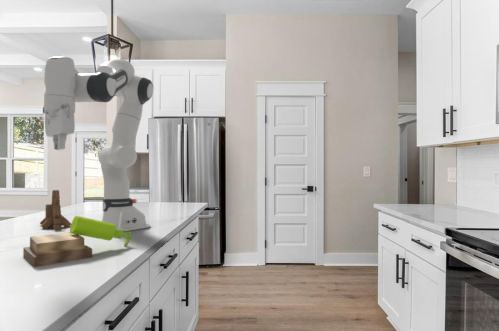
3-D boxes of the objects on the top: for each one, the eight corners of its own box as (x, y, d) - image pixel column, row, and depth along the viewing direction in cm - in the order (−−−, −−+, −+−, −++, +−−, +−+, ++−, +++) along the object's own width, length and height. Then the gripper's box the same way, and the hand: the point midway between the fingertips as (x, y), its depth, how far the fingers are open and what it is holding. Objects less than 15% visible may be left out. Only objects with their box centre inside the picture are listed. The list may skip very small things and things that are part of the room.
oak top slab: (73, 241, 119) (74, 231, 119) (84, 249, 109) (84, 238, 109) (29, 247, 110) (29, 236, 110) (36, 255, 101) (36, 243, 101)
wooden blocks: (73, 230, 157) (73, 191, 157) (41, 232, 150) (42, 192, 151) (66, 222, 178) (67, 188, 178) (38, 224, 171) (39, 188, 171)
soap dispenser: (71, 237, 110) (129, 248, 123) (79, 216, 112) (135, 229, 124) (67, 234, 115) (123, 245, 127) (74, 214, 116) (129, 227, 129)
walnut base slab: (76, 250, 121) (76, 240, 121) (92, 259, 110) (92, 248, 110) (23, 258, 110) (23, 247, 110) (34, 269, 99) (34, 257, 99)
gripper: (80, 103, 105) (80, 148, 105) (62, 111, 120) (61, 150, 120) (57, 100, 100) (57, 147, 100) (41, 109, 116) (40, 150, 115)
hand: (59, 149), depth 110 cm, fingers open, 3 cm apart
